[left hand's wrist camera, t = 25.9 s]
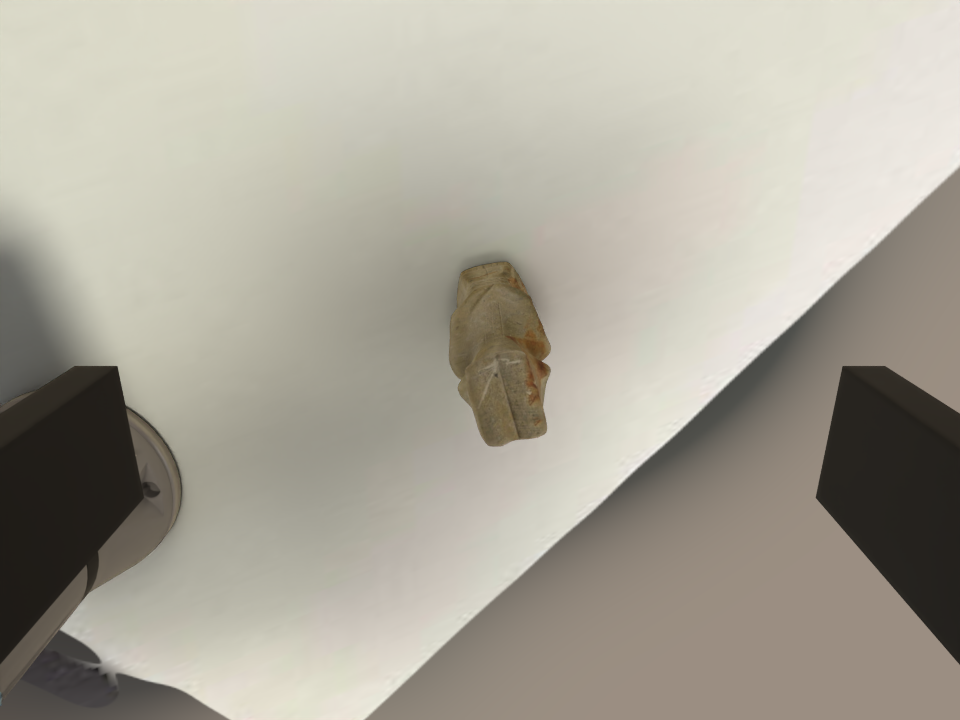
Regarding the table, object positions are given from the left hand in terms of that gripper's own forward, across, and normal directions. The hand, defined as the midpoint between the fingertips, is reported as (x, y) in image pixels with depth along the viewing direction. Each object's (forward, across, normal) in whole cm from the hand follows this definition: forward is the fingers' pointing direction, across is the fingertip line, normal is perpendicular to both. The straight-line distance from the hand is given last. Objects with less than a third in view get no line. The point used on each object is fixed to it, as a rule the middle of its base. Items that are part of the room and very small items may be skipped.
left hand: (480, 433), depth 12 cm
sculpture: (+34, -1, +7) cm, 35 cm away
